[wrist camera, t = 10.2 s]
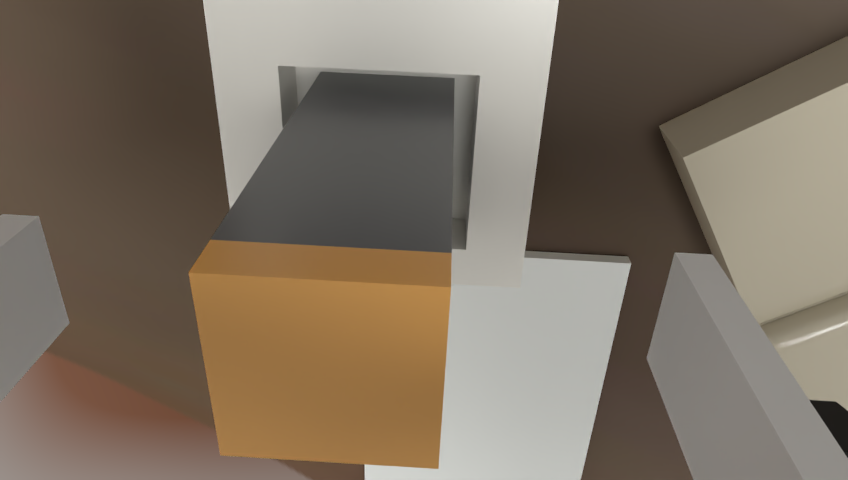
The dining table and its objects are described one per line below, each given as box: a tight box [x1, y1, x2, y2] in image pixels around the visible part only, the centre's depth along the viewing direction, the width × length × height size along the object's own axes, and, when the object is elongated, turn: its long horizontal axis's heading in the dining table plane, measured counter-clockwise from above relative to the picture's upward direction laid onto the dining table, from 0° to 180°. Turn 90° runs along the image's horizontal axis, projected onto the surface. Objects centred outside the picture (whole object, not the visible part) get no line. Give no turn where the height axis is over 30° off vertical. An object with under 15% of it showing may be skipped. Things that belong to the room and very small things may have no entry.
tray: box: [365, 251, 631, 480], centre depth 28 cm, size 14×10×1 cm
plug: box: [189, 72, 455, 469], centre depth 16 cm, size 4×4×11 cm
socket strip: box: [203, 0, 559, 288], centre depth 14 cm, size 17×9×13 cm, turn 178°
